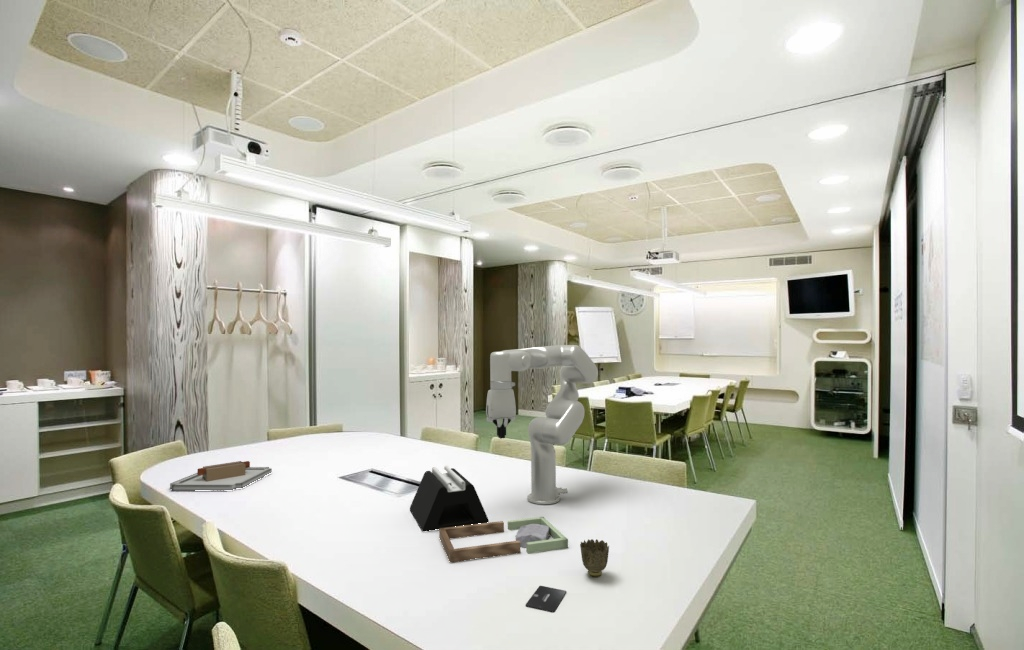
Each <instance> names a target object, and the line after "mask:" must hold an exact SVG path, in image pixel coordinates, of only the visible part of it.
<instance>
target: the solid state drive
mask: <svg viewBox="0 0 1024 650" xmlns="http://www.w3.org/2000/svg"><path fill="white" fill-rule="evenodd" d="M566 595H567V590H565V589H559V588H554V587H550V586H545V585H539V586H538V588H537V589H536V590H535V591H534V592H533V594H532V595H531V596H530V598H529V600H528V601H527V602H526V603H525V607H527V608H530V609H534V610H540V611H545V612H548V613H555V612H556V610H557V609H558V608H559V605H560V604H561V603H562V601H563V599H564V598H565V596H566Z"/></svg>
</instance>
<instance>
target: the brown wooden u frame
mask: <svg viewBox="0 0 1024 650" xmlns="http://www.w3.org/2000/svg"><path fill="white" fill-rule="evenodd" d="M438 531H439V532H438V539H439V538H440V539H439V541H440V540H441V541H440V543H441V546H442V545H443V546H442V547H444V548H443V550H444V553H445V552H446V553H445V555H446V554H447V555H446V557H447V556H448V557H447V560H448V559H449V560H448V561H450V562H452V563H458V561H459V562H465V561H464V560H466V561H471V560H470V559H474V560H476V559H475V558H481V559H484V558H483V557H488V558H494V557H493V556H495V557H501V556H500V555H502V556H507V554H509V555H515V554H516V553H517V554H521V547H520V541H519V540H518V541H516V540H513V541H504V542H503V541H502V542H498V543H497V542H496V543H489V544H481V545H475V546H468V547H467V546H465V547H459V548H458V547H457V548H455V547H454V545H453V544H452V542H451V539H450V538H453V539H459V537H461V538H466V537H467V536H469V537H475V536H474V535H477V536H485V535H491V534H493V535H494V534H500V533H504V532H505V522H504V520H500V521H491V522H490V521H489V522H488V523H481V524H473V525H464V526H456V527H447V528H439V530H438ZM484 534H485V535H484ZM467 538H468V537H467ZM450 562H449V563H450Z"/></svg>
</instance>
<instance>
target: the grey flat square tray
mask: <svg viewBox="0 0 1024 650" xmlns="http://www.w3.org/2000/svg"><path fill="white" fill-rule="evenodd" d="M271 472H272V468H271V467H269V466H251V461H249V460H246V461H241V460H237V461H231V462H225V463H220V464H211V465H205V466H202V467H200V468H197V472H194V473H193V474H191V475H187V476H185V477H183V478H181V479H179V480H178V479H177V480H176V481H173V482H170V483H169V485H170V486H169V490H170V489H172V490H171V492H196V491H195V490H233V489H235V488H243V487H245V486H247V485H249V484H250V483H252V482H254V481H256V480H258V479H260V478H262V477H264V476H265V475H267V474H269V473H271ZM272 473H273V472H272ZM249 486H250V485H249ZM247 487H248V486H247Z"/></svg>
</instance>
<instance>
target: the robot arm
mask: <svg viewBox="0 0 1024 650" xmlns="http://www.w3.org/2000/svg"><path fill="white" fill-rule="evenodd" d="M489 356H490V357H489V359H490V360H489V365H490V366H489V368H490V369H489V370H490V377H489V378H490V382H489V383H490V384H489V385H490V389H489V390H488V391H487V396H486V407H485V415H486V422H488V423H493V424H494V425H495V426H496V436H497V438H499V439H501V440H502V439H506V436H507V427H508V425H509V424H510V422H514V421H516V420H517V417H516V414H517V407H516V406H517V405H516V398H515V393H514V392H515V391H514V389H513V387H515V386H516V382H513V381H512V372H524V371H526V370H528V369H535V370H536V369H539V370H541V369H548V368H554V367H555V368H556V367H560V370H559V378H560V380H559V381H560V388H559V390H558V392H557V393H556V394H555V395H554V397H553V398H552V400H550V402H549V403H548V405H547V407H546V409H545V412H544V413H545V416H546V417H545V416H536V417H535V418H534V417H533V418H532V419H531V421H530V422H529V424H528V432H527V433H528V437H529V442H530V463H531V464H530V468H531V469H530V478H531V479H530V481H531V482H530V484H531V485H530V486H531V488H530V489H531V493H529V494H528V495H527V501H528V502H529V503H531V504H535V505H554V504H557V503H558V502H560V500H561V497H560V495H564V494H565V495H566V494H568V492H569V490H568V488H562V487H557V483H556V482H557V481H556V480H557V478H556V477H557V476H556V475H557V473H556V472H557V470H556V469H557V468H556V467H557V466H556V465H557V464H556V457H557V455H556V454H557V453H556V449H555V446H554V445H556V446H564V445H566V444H567V443H569V441H570V440H571V439H572V437H574V435H575V433H576V432H577V430H579V428H580V426H581V425H582V423H583V422H584V418H585V414H586V413H585V406H584V405H583V403H581V402H580V401H578V399H580V398H579V396H580V395H579V391H578V389H577V383H578V384H593V383H595V382H596V381H597V379H598V376H599V370H598V367H597V365H596V363H595V362H594V361H593V360H592V359H591V357H590V356H589V354H588V353H587V352H586V351H585V350H584V349H583V348H582V347H581V346H579V345H576V344H557V345H556V344H554V345H547V346H536V347H535V346H534V347H528V348H517V349H516V348H515V349H514V348H513V349H504V350H501V351H493V352H491V353H490V355H489Z"/></svg>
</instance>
